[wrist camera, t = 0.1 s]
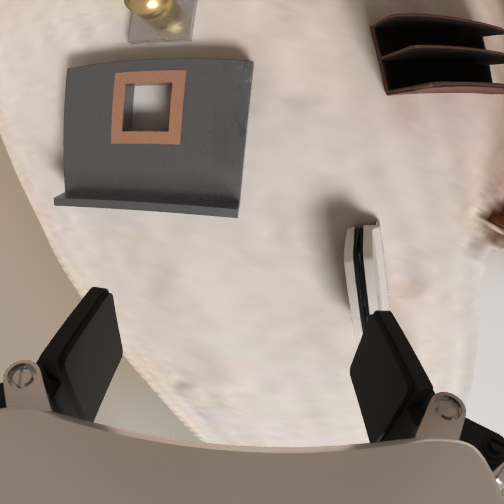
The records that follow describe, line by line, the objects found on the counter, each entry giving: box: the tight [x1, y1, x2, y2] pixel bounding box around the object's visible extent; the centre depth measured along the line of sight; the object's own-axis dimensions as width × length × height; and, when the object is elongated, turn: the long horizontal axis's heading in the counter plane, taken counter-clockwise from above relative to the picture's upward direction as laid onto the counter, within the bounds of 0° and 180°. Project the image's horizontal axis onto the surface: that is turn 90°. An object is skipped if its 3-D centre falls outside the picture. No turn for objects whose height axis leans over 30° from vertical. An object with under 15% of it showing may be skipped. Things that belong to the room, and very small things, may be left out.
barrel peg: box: [124, 0, 179, 27], centre depth 26 cm, size 4×4×7 cm
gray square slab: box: [128, 0, 197, 44], centre depth 30 cm, size 8×8×2 cm
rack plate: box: [54, 59, 254, 218], centre depth 34 cm, size 18×24×6 cm
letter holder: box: [370, 14, 504, 95], centre depth 25 cm, size 10×20×14 cm, turn 103°
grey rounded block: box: [344, 221, 389, 343], centre depth 42 cm, size 17×5×10 cm, turn 17°
